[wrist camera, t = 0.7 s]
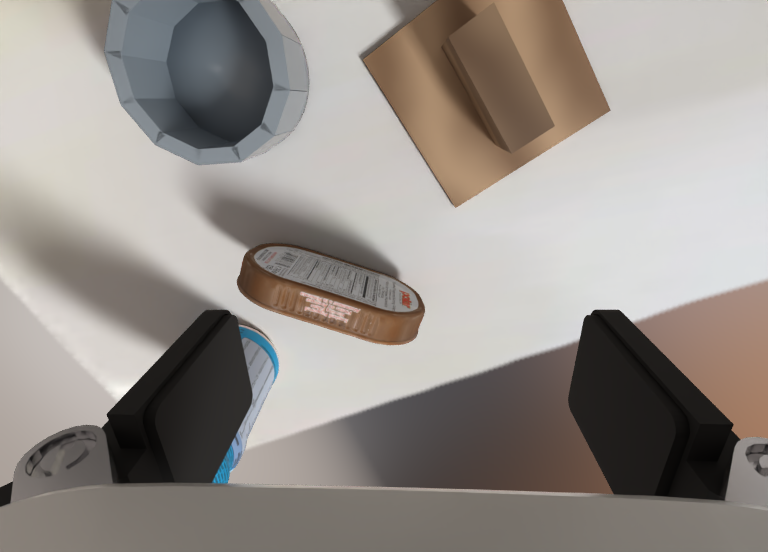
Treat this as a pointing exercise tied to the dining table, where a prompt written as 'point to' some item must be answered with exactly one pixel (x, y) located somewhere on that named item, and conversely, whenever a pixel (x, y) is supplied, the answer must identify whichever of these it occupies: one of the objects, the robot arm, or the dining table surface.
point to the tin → (331, 293)
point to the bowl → (208, 75)
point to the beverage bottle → (262, 377)
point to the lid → (487, 86)
